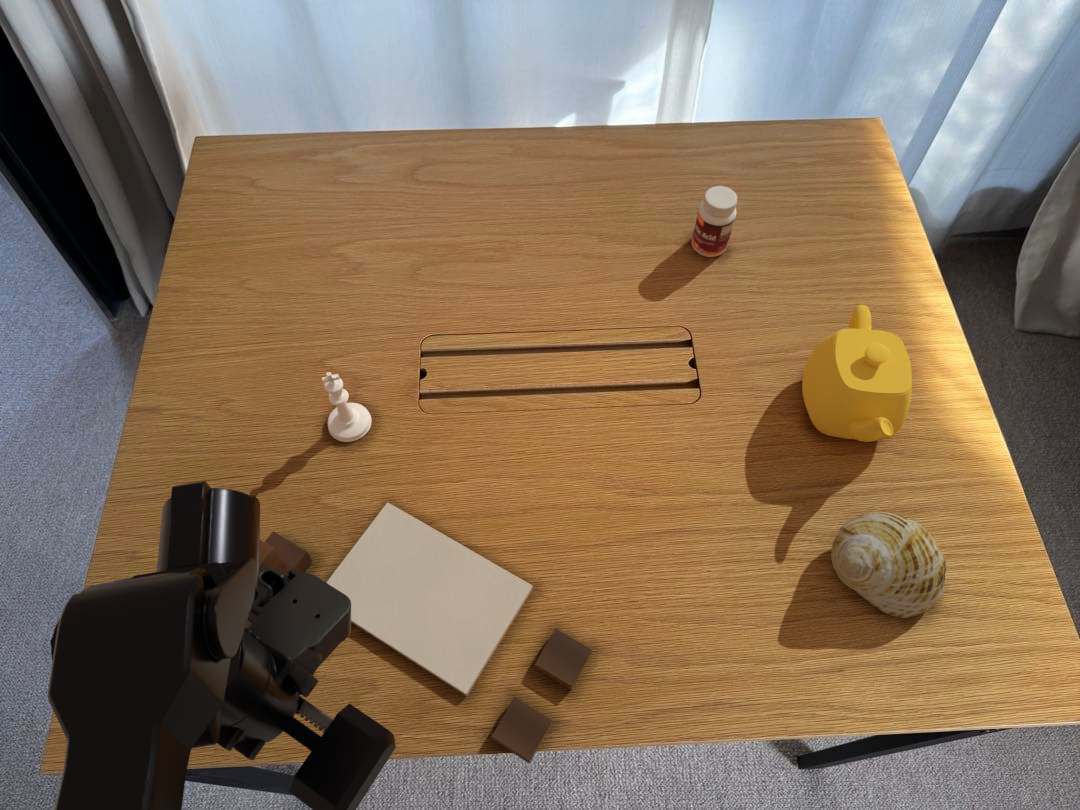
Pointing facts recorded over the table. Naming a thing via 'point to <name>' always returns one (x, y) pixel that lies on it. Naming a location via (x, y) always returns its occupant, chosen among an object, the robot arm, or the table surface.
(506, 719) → the chip
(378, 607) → the tile
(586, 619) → the table surface
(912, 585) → the seashell
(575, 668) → the chip
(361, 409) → the chess piece
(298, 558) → the brown stepped block
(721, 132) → the table surface
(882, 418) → the teapot
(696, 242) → the pill bottle
